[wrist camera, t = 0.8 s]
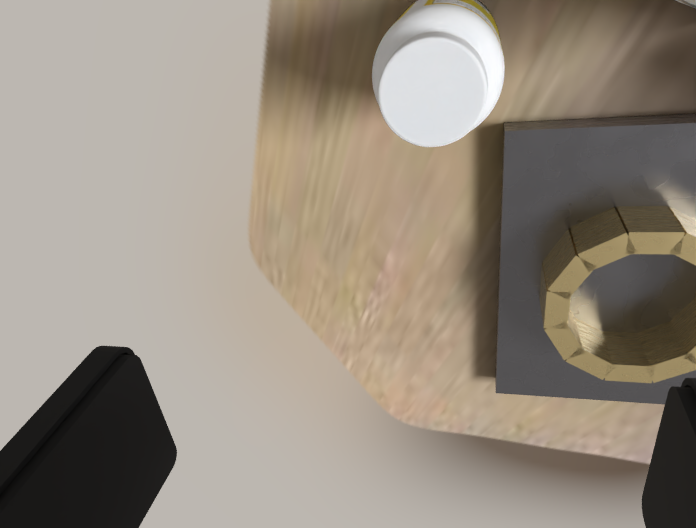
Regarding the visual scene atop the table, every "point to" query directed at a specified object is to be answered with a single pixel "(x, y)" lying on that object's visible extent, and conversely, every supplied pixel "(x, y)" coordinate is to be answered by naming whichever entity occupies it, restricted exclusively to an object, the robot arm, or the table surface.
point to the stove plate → (567, 196)
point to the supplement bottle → (438, 71)
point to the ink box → (688, 2)
